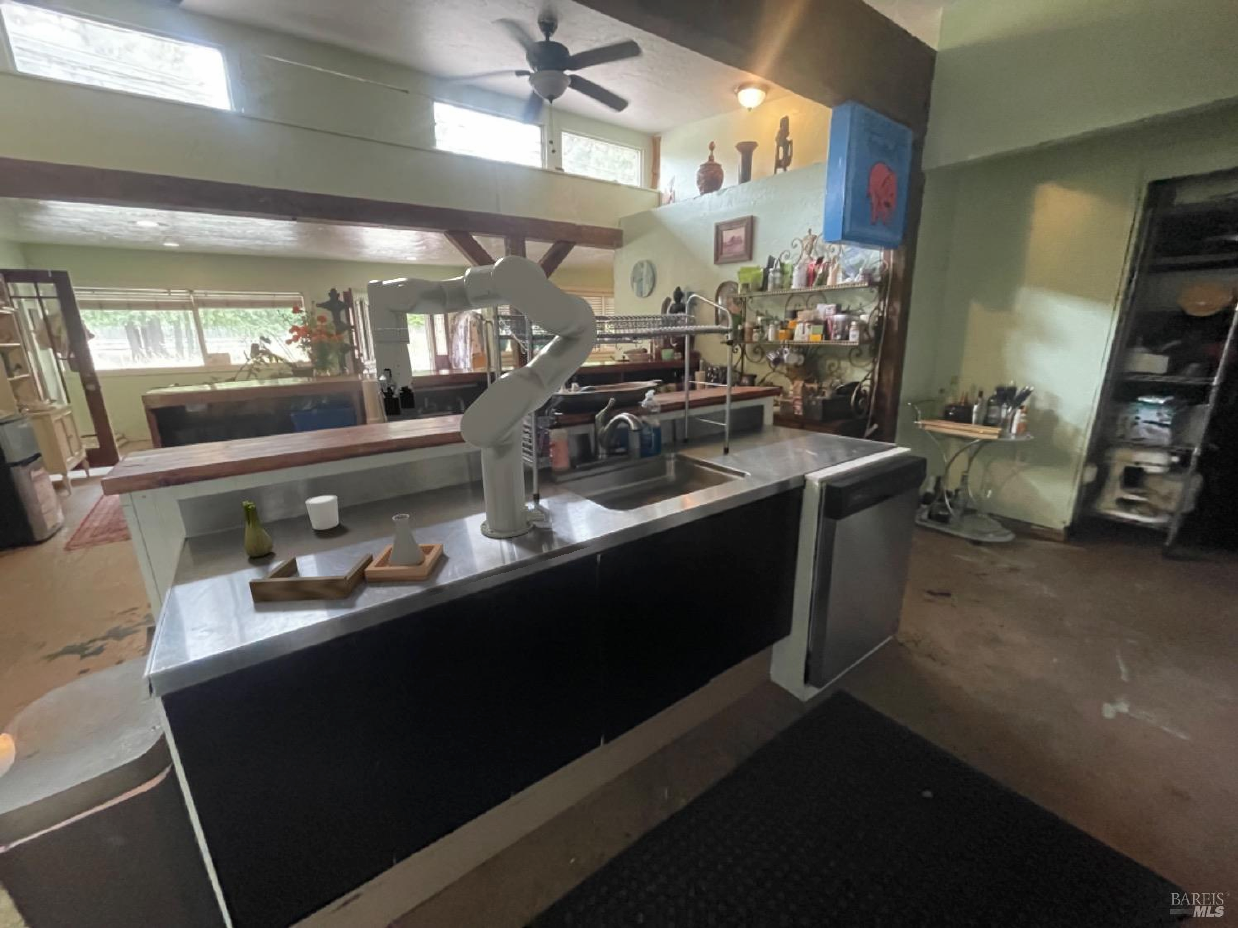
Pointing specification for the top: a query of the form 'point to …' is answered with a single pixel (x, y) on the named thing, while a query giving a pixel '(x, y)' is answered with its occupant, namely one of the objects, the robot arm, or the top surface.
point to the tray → (382, 572)
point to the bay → (306, 583)
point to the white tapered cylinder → (323, 511)
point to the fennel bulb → (255, 533)
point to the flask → (404, 545)
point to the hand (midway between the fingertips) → (401, 411)
